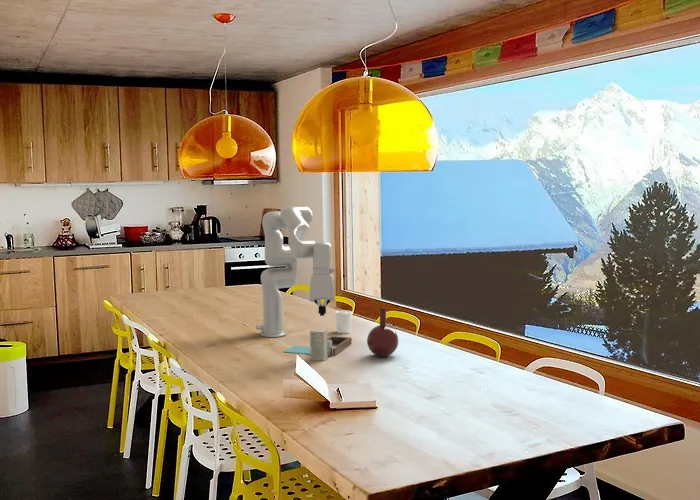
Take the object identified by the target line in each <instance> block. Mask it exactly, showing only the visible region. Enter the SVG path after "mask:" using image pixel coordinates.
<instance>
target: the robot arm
mask: <svg viewBox="0 0 700 500" xmlns="http://www.w3.org/2000/svg"><path fill="white" fill-rule="evenodd" d="M313 215H314V214H313V212H312V209H310V207H308V206H307V205H306V206H305V205H298V206H297V205H294V206H293V205H291V206H286V207H284V208H282V209H281V210H274V211H272V210H271V211H268V212H266V213H265V214H264V215H263V217H262V222H261V223H262V224H261V225H262V229H263V233H264V262H265V264H266V265H267V266H270V267H273V268H267V269H265V270H263V271H262V272H261V274H260V283H261V289H262V309H263V310H262V315H263V316H262V321H263V324H256V325H255V329H256V330H257V331H259V330H260V333H259V335H260V336H261V337H265V338H279V337H280V338H281V337H284V336H286V335H287V334H288V332H287V331H286V330H284V296H283V294H282V293H281V292H280V289H285V288H286V289H287V288H293V287H295V286H296V285H297V284H298V280H299V279H298V275H299V274H298V273H299V259H300V260H301V259H303V260H304V259H312V274H311V276H310V282H309V298H308V299H309V300H308V301H309V302H310V303H311V302H312V303H315V305H317V306H318V314H319V316H320V317H324V316H325V314H327V306H328V304H330V303H333V302H335V301H336V298H335V294H336V293H335V279H334V274H332V273H335V268H332V245H331V243H330V242H328V241H325V240H322V239H321V240H320V239H314V240H313V239H308V240H306V239H305V240H301V239H303V238H304V237H306V236H307V235H308V234H309V231H310V226H309V225H310V224H311V223H312V221H313V217H314V216H313ZM281 230H288V231H289V234H288V240H287V242H288V244H285V245H284V235H283V232H282V231H281ZM277 266H279V267H277ZM280 266H285V267H280ZM274 267H275V268H274ZM321 300H323V304H322V303H321V302H322V301H321Z"/></svg>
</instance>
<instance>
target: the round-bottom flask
mask: <svg viewBox="0 0 700 500" xmlns="http://www.w3.org/2000/svg"><path fill="white" fill-rule="evenodd" d="M378 311H379V325H377V326H374V327H373V328H372V329H371V330H370V331H369V333H368V335H367V339H366V342H367V343H366V344H367V347H368V349H369V351H370V352H371V353H372V354H374V355H375V356H377V357H382V358H384V357H389V356H391V355H392V354H393V353H395V352H396V351H397V349H398V346H399V336H398V334H397V332H396V330H395V329H394V328H392V327H391V326H389V325H387V311H388V309H387V308H380V309H379V310H378Z"/></svg>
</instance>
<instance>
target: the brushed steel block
mask: <svg viewBox="0 0 700 500" xmlns="http://www.w3.org/2000/svg"><path fill="white" fill-rule="evenodd" d="M332 349H333V346H332V340H327V358H328V357H329V356H332Z"/></svg>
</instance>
